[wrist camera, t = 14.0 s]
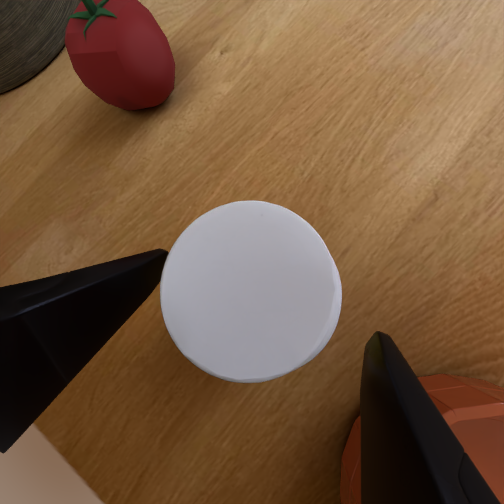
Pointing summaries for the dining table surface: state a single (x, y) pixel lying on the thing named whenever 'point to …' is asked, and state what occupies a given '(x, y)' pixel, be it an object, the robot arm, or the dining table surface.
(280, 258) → the pill bottle
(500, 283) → the dining table surface
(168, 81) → the tomato
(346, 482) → the bowl
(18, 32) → the planter
